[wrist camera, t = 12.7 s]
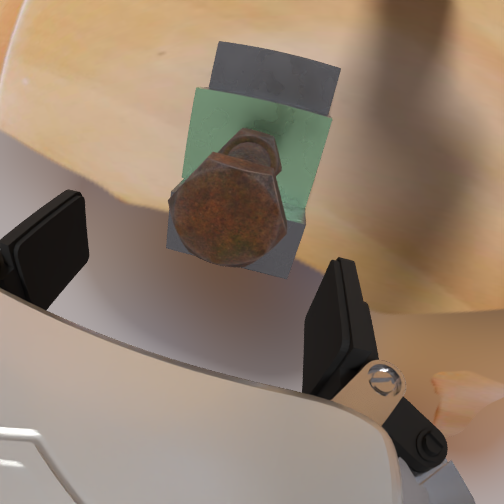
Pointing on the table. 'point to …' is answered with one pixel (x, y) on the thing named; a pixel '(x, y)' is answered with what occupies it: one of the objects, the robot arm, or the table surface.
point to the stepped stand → (265, 128)
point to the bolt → (232, 202)
